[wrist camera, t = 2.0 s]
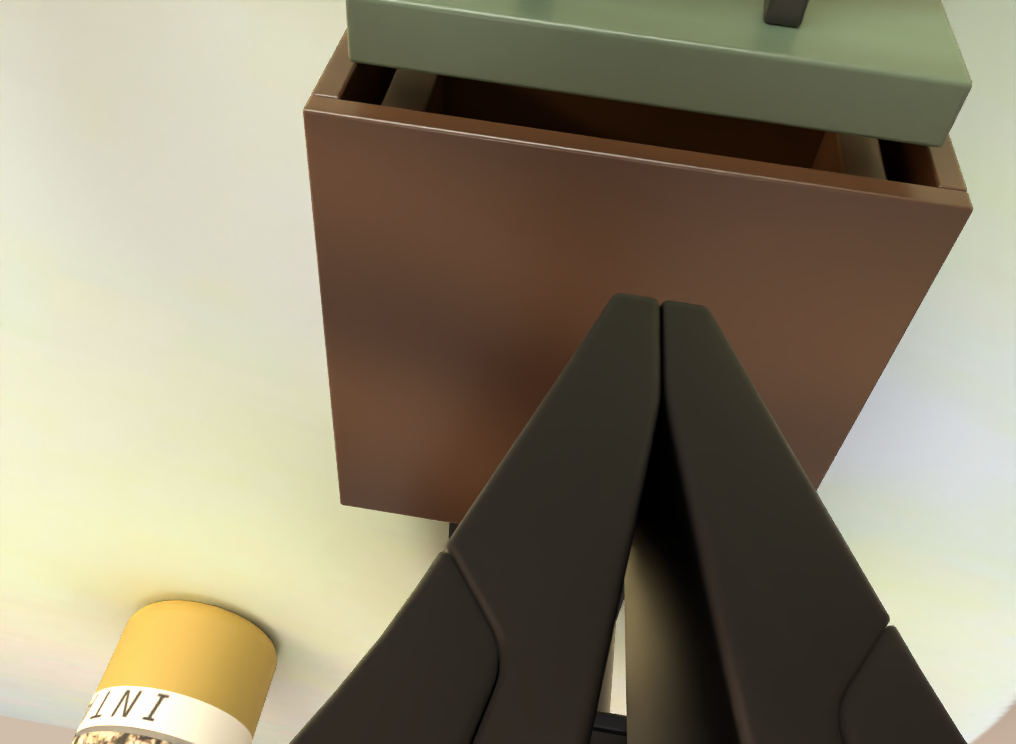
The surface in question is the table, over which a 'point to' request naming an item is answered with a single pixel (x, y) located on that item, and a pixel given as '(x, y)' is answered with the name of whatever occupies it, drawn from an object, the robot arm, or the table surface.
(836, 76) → the drawer
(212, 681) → the paper tube
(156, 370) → the table surface
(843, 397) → the box
